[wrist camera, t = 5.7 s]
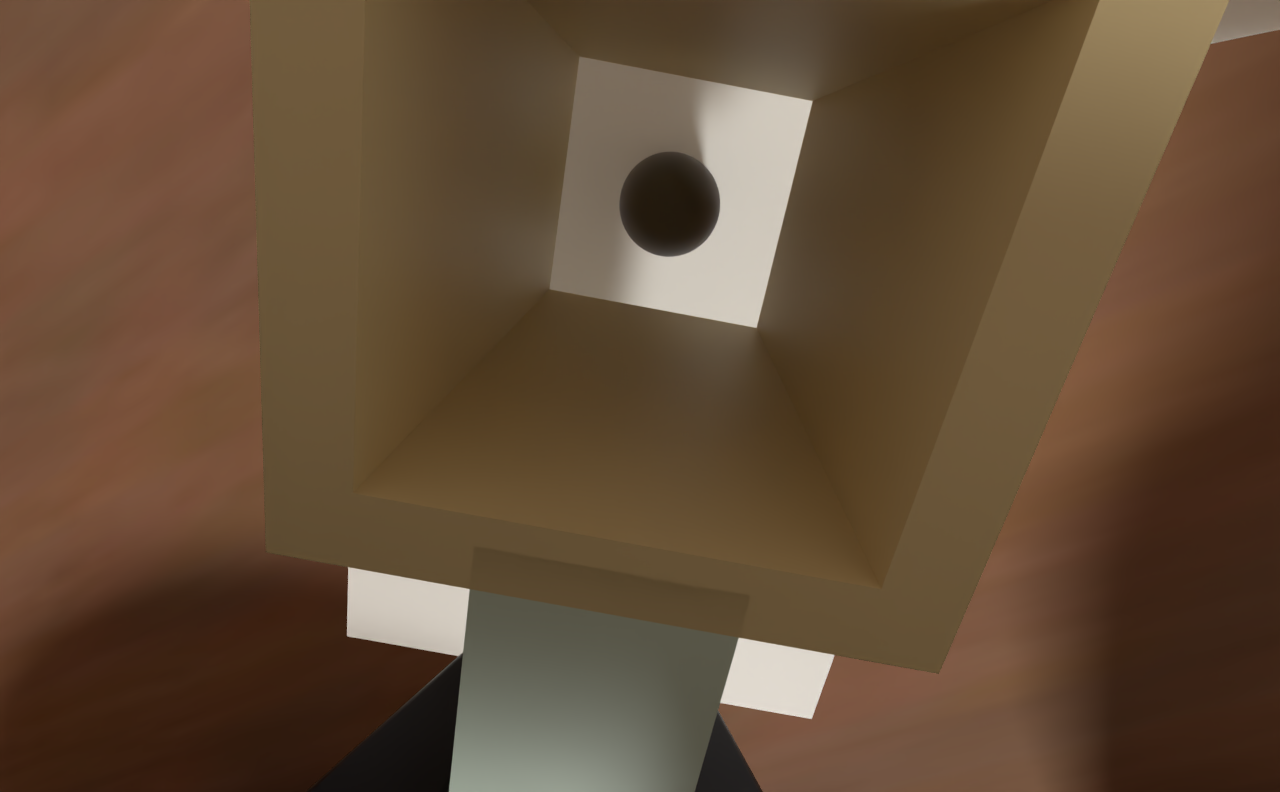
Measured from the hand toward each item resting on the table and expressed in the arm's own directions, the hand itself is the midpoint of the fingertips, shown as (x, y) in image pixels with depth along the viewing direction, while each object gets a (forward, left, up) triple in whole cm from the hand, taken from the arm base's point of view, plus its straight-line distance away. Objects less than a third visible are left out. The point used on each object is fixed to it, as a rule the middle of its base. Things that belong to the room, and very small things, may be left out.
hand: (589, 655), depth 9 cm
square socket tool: (+1, 0, -2) cm, 2 cm away
